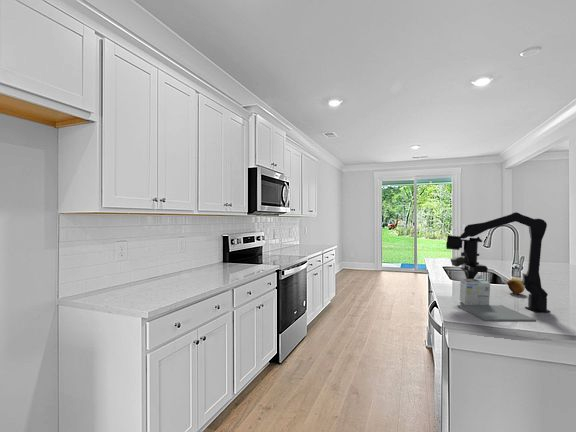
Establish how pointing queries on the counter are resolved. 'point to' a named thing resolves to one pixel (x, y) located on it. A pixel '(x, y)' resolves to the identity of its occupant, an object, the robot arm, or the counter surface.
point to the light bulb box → (474, 292)
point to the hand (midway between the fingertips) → (469, 283)
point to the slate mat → (495, 313)
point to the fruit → (516, 286)
